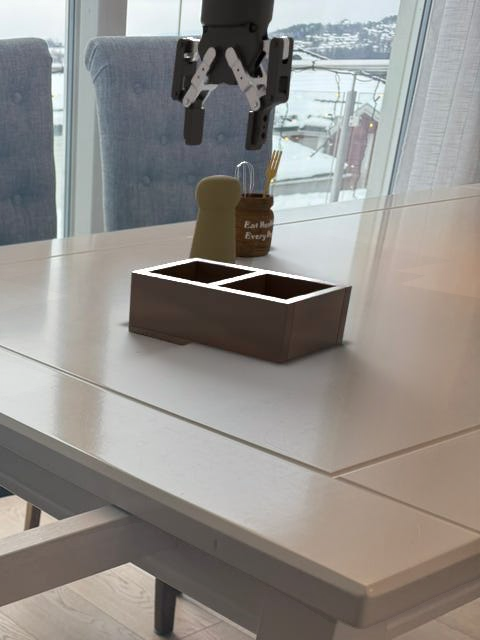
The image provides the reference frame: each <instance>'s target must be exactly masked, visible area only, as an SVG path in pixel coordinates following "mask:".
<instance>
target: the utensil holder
mask: <svg viewBox="0 0 480 640" xmlns="http://www.w3.org/2000/svg"><path fill="white" fill-rule="evenodd" d="M282 155H283V150H279V149H277V150H276V149H274V150H273V151H272V154H271V158H270V161H269V164H268V167H267V170H266V173H265V177H266V178H267V182H266V185H265V189H264V191H263V193H262V192H253V189H254V187H252V186H254V184H255V181H252V179H253V177H255V172H254V167H253V165H252V164H251V163H250V162H248V161H242V162H240V163H239V164H238V166H236V167H235V170H234V173H236V171H237V173H236V175H237V179H238V180H239V179H240V177H239V174H240V173H239V170H240V167H241V165H243V166H242V167H243V168H242V169H243V170H242V173H243V174H242V176H243V179H242V180H243V184H244V192H242V193H241V198H240V201H239V203H238V204H237V206H236V207H235V250H236V257H242V258H243V257H245V258H250V257H252V258H254V257H262V256H267V255H268V254H269V252H270V251H271V246H272V241H273V232H274V226H275V225H274V224H275V214H274V213H275V212H274V211H273V210H272V209H271V208H272V207H273V206H274V205H275V198H274V197H275V196H274V195H273V194H270V193H268V192H269V188H270V184H271V181H272V180H273V179H275V178H276V177H277V176H276V175H277V173H278V170H279V165H280V162H281V159H282ZM245 165H247V166H248V170H250V175H249V181H250V183H249V192H246V189H247V188H246V181H245ZM249 165H250V166H249ZM237 168H238V169H237ZM251 169H252V170H251ZM252 172H253V173H252ZM239 181H240V180H239ZM252 182H253V184H252Z"/></svg>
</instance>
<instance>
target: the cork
mask: <svg viewBox="0 0 480 640" xmlns="http://www.w3.org/2000/svg"><path fill="white" fill-rule="evenodd" d="M242 191H243V188H242V184H241V181H240V180H238V178H237V177H235V176H231V175H223V174H217V175H209V176H205V177H203V178H202V179H200V180H199V182H198V183H197V185H196V187H195V196H194V198H195V202H196V204H197V206H198V211H197V216H196V221H195V222H196V223H195V225H194V231H193V236H192V240H191V245H190V249H189V255H188V259H187V260H189V259H193V258H199V259H205V260H211V261H216V262H222V263H227V264H233V265H237V261H236V258H237V256H236V250H235V207H236V206H237V204H238V203H239V201H240V198H241V193H243V192H242Z"/></svg>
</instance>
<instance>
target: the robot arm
mask: <svg viewBox="0 0 480 640" xmlns="http://www.w3.org/2000/svg"><path fill="white" fill-rule="evenodd" d="M274 6H275V0H200V9H199V23H200V25H201V26H202V31H201V35H200V38H197V37H183V38H182V37H181V38H179V39H178V40H177V42H176V48H175V56H174V64H173V65H174V67H173V74H172V84H171V91H170V96H171V97H170V98H171V100H173V101H178V103H181V104H182V105H183V107H184V119H183V132H182V134H183V135H182V137H183V139H184V143H185V145H186V146H189V147H192V146H194V147H195V146H199V145H201V144H202V142H203V138H204V137H203V134H204V126H205V114H206V107H203V106H204V104H205V103H206V102H207V99H208V98H209V96H210V95H211V93H212V92H213V91H214V90H215V89H217V87H218V86H219V85H228V86H238V87H239V89H240V91H241V93H244V95H245V97H246V99H247V102H248V104H249V106H250V109H251V110H252V111H249V112H248V117H247V118H248V119H247V127H246V134H245V135H246V136H245V142H244V143H245V145H244V148H245V150H246V151H251V152H252V151H260V150H262V148H263V145H265V144H266V141H267V139H268V130H269V129H268V128H269V123H270V115H271V111H272V110H273V109H274V107H277V106H279V105H282V104H286V103H287V102H289V98H290V89H291V79H292V78H291V77H292V67H293V56H294V44H295V41H294V38H293V37H292V36H275V37H272V38H271V39H270V38H269V34H268V28H269V26H270V23H271V22H272V20H273V15H274ZM199 59H200V62H201V63H200V65H199V67H198V68H197V66H198V60H199ZM264 59H266V60H267V73H266V70H265V68H264V66H263V64H262V62H263V61H264Z"/></svg>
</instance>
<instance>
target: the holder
mask: <svg viewBox="0 0 480 640" xmlns="http://www.w3.org/2000/svg"><path fill="white" fill-rule="evenodd" d="M188 259H189V258H188ZM188 259H185V260H180V261H176V262H170V263H167V264H162V265H157V266H153V267H147V268H144V269H138V270H133V271H131V277H130V295H129V311H128V328H127V329H128V332H132V333H135V334H138V335H142V336H147V337H150V338H154V339H157V340H163V341H166V342H169V343H174V344H178V345H182V346H187V345H190V344H193V343H197V344H201V345H205V346H209V347H212V348H217V349H219V350H225V351H228V352H232V353H236V354H239V355H244V356H247V357H252V358H255V359H260V360H264V361H267V362H270V363H274V364H275V363H276V364H283V363H285V362H289V361H292V360H295V359H298V358H301V357H303V356H307V355H311V354H313V353H316V352H318V351H319V352H320V351H322V350H325V349H328V348H331V347H335V346H337V345H340V344H342V343H343V341H344V333H345V328H346V323H347V318H348V312H349V305H350V300H351V295H352V290H353V286H352V285H349V284H344V283H338V282H333V281H329V280H328V281H327V280H322V279H315V278H311V277H305V276H299V275H294V274H288V273H283V272H276V271H272V270H265V269H260V268H254V267H250V266H244V265H238V264H236V265H233V264H227V263H222V262H216V261H211V260H205V259H199V258H193V259H189V260H188Z"/></svg>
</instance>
